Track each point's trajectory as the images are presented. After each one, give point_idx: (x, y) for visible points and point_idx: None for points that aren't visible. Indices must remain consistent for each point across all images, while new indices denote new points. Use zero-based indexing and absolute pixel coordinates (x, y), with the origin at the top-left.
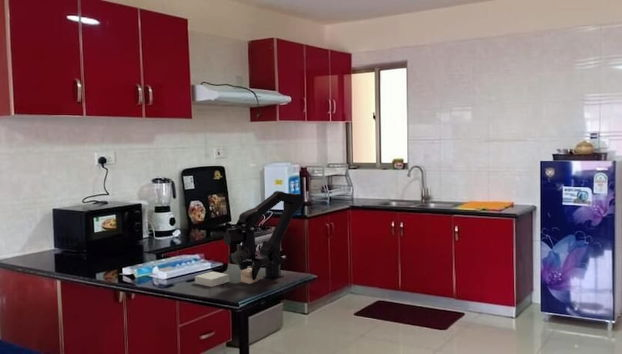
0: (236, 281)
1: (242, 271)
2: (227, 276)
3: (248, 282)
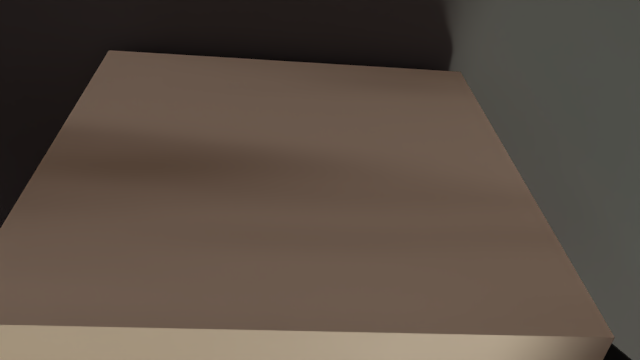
0: (629, 82)
1: (469, 297)
2: None
3: (147, 63)
